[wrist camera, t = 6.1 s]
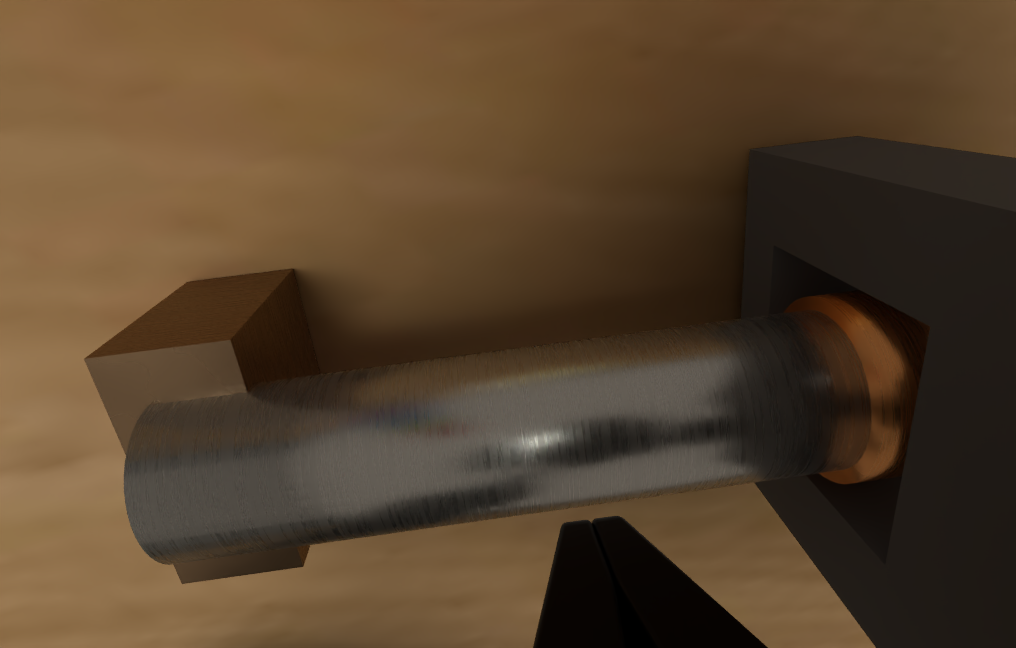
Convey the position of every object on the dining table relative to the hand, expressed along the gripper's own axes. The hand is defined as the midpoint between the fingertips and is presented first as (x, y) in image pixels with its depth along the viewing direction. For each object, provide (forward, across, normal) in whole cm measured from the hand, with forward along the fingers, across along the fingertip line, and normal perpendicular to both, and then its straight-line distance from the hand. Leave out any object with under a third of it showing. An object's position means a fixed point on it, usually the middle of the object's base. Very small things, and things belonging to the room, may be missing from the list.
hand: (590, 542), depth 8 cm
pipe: (+7, -2, 0) cm, 7 cm away
